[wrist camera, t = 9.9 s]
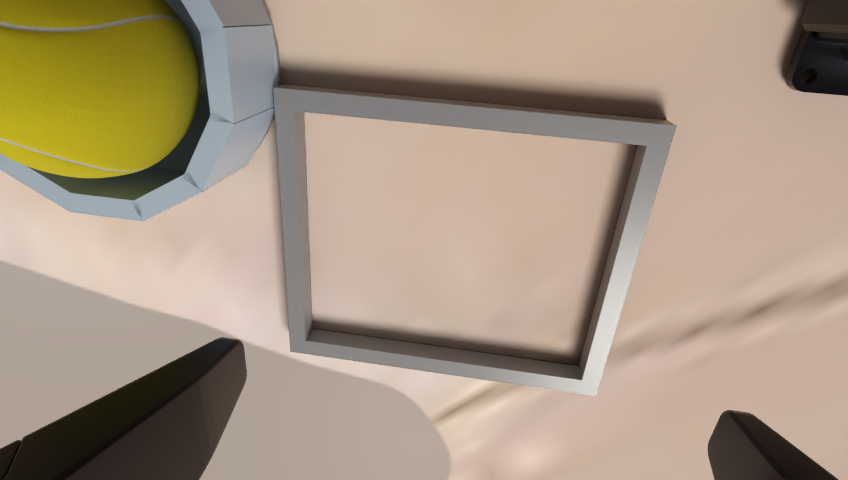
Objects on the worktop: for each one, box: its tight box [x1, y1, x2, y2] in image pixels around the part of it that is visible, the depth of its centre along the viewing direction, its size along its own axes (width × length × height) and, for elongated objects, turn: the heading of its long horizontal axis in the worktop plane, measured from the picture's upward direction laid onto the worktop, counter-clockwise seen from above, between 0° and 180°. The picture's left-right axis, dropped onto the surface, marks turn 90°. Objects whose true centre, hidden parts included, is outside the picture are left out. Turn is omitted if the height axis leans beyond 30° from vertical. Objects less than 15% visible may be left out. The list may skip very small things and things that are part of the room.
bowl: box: [0, 0, 280, 221], centre depth 17 cm, size 11×11×4 cm
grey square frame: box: [273, 84, 676, 396], centre depth 21 cm, size 15×13×1 cm
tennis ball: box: [0, 0, 200, 178], centre depth 16 cm, size 7×7×7 cm
